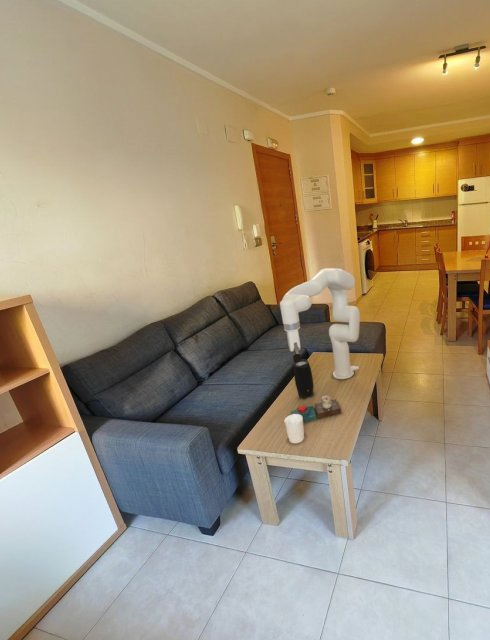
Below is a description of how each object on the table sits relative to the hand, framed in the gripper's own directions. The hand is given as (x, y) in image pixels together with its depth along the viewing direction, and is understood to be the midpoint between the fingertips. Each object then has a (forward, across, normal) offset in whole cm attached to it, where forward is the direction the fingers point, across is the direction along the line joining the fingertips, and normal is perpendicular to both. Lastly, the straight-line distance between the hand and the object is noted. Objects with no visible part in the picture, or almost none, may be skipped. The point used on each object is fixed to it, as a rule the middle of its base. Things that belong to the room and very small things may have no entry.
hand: (297, 361), depth 162 cm
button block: (+27, +6, -2) cm, 28 cm away
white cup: (+27, +21, -7) cm, 35 cm away
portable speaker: (+27, -14, +3) cm, 31 cm away
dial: (+24, +6, +10) cm, 27 cm away
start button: (+23, +6, -2) cm, 24 cm away
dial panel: (+27, +6, +10) cm, 29 cm away
